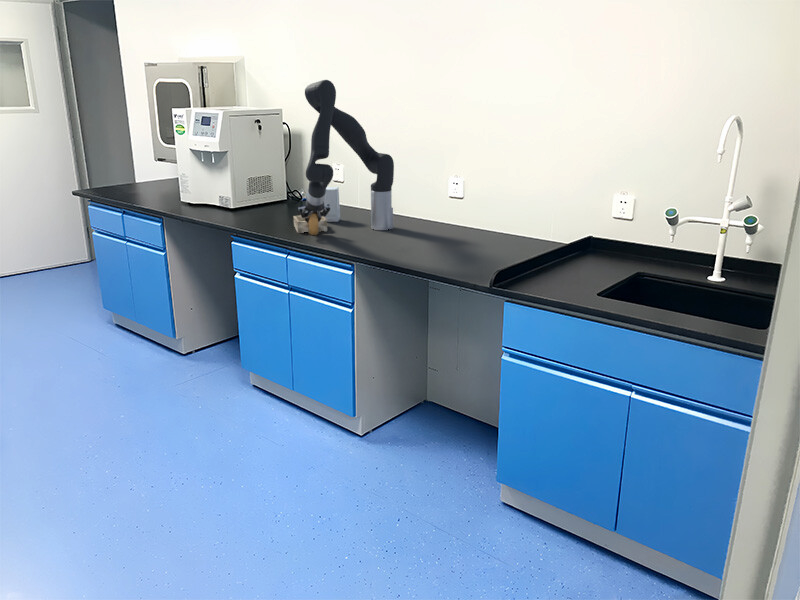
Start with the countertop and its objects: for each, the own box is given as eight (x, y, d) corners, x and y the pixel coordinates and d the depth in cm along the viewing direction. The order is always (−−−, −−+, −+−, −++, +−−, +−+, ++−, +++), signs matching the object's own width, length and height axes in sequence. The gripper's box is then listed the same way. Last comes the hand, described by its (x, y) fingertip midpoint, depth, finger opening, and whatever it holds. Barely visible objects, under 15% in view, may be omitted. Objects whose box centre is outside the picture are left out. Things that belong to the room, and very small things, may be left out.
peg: (317, 232, 276) (316, 205, 273) (319, 234, 273) (318, 207, 269) (308, 233, 275) (307, 206, 271) (310, 235, 272) (308, 207, 268)
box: (322, 225, 291) (321, 214, 289) (327, 231, 279) (326, 220, 277) (294, 226, 287) (293, 216, 286) (297, 233, 276) (297, 221, 274)
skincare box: (340, 219, 303) (339, 187, 298) (337, 222, 297) (336, 189, 291) (323, 219, 304) (322, 186, 298) (320, 222, 297) (319, 189, 292)
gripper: (331, 189, 263) (327, 212, 278) (297, 190, 259) (295, 214, 274) (334, 204, 260) (330, 226, 275) (299, 206, 256) (297, 228, 271)
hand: (312, 220), depth 274 cm, fingers closed on peg, 4 cm apart
